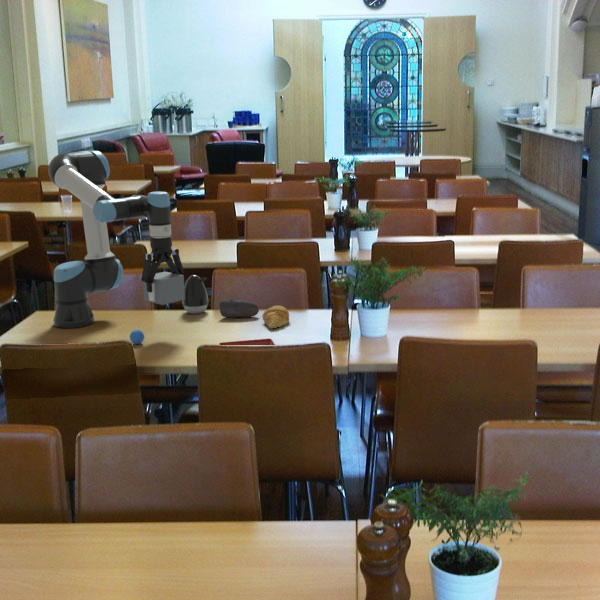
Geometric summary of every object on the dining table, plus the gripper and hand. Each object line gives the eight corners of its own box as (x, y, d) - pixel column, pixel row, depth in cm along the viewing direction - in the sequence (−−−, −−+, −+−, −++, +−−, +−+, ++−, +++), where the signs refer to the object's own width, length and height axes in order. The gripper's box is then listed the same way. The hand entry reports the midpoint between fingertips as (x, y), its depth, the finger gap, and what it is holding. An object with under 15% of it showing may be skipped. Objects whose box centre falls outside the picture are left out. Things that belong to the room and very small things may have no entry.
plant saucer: (281, 362, 279) (281, 352, 279) (225, 368, 276) (225, 357, 275) (271, 347, 297) (271, 338, 296) (218, 352, 293) (218, 342, 292)
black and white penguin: (204, 315, 340) (202, 277, 337) (179, 315, 342) (177, 277, 339) (212, 309, 350) (210, 272, 346) (188, 308, 352) (185, 272, 348)
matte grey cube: (144, 300, 310) (142, 276, 308) (166, 295, 317) (165, 271, 315) (162, 304, 303) (161, 280, 301) (184, 299, 311) (183, 275, 309)
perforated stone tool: (260, 315, 338) (259, 298, 336) (257, 319, 333) (257, 301, 331) (222, 315, 340) (221, 298, 338) (219, 319, 335) (218, 301, 333)
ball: (127, 344, 304) (126, 330, 303) (139, 340, 308) (138, 327, 307) (136, 346, 301) (135, 332, 300) (147, 343, 304) (146, 329, 303)
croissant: (280, 340, 316) (289, 321, 314) (255, 327, 316) (264, 308, 314) (287, 323, 337) (296, 306, 335) (264, 312, 337) (273, 294, 334)
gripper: (141, 242, 294) (145, 305, 300) (192, 232, 310) (195, 293, 316) (127, 239, 299) (132, 302, 304) (178, 230, 315) (181, 290, 321)
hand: (164, 297), depth 310 cm, fingers closed on matte grey cube, 10 cm apart
